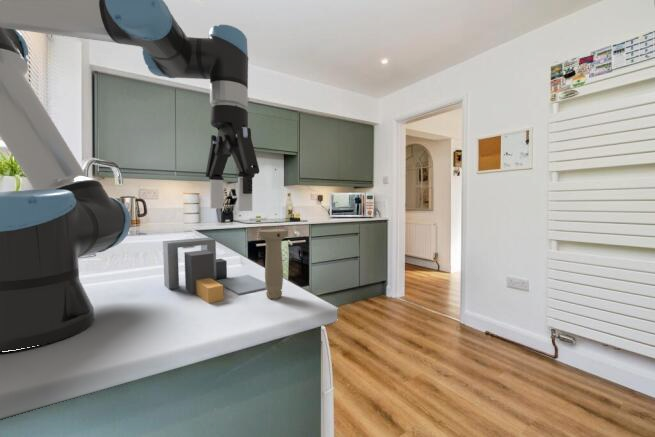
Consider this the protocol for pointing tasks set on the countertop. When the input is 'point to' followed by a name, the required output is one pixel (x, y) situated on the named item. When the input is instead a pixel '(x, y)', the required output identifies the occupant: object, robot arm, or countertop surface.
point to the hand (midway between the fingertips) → (229, 209)
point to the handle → (273, 261)
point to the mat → (243, 284)
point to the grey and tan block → (202, 276)
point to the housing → (172, 259)
